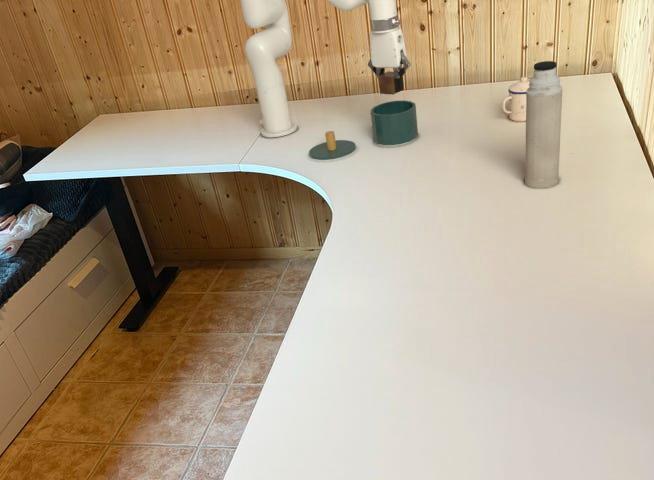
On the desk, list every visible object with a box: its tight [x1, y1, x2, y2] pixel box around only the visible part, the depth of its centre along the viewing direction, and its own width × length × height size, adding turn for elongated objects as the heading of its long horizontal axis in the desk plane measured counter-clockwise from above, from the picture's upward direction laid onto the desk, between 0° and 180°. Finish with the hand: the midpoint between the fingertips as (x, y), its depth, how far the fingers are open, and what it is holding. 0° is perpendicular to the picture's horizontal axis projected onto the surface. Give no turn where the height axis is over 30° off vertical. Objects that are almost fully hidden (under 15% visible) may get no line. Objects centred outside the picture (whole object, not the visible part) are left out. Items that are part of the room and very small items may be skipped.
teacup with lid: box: [501, 76, 530, 122], centre depth 202 cm, size 12×9×12 cm
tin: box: [370, 99, 419, 146], centre depth 204 cm, size 14×14×10 cm
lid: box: [308, 130, 357, 161], centre depth 204 cm, size 15×15×6 cm
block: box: [377, 71, 397, 96], centre depth 197 cm, size 5×5×5 cm
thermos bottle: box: [524, 60, 563, 189], centre depth 158 cm, size 8×8×28 cm
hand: (391, 90), depth 198 cm, fingers closed on block, 5 cm apart
